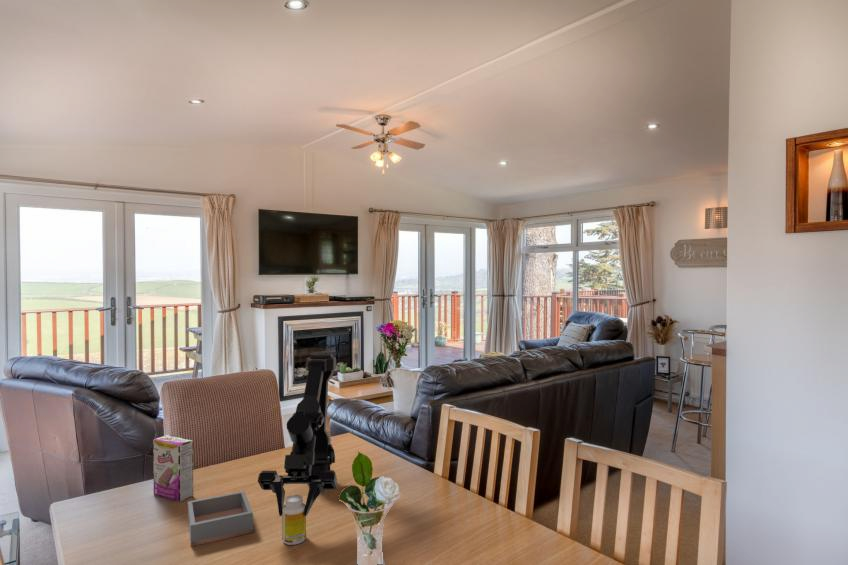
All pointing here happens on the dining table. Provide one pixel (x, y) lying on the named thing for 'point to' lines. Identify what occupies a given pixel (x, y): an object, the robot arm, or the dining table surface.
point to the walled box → (219, 518)
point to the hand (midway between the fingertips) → (292, 515)
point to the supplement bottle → (293, 520)
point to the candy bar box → (173, 467)
